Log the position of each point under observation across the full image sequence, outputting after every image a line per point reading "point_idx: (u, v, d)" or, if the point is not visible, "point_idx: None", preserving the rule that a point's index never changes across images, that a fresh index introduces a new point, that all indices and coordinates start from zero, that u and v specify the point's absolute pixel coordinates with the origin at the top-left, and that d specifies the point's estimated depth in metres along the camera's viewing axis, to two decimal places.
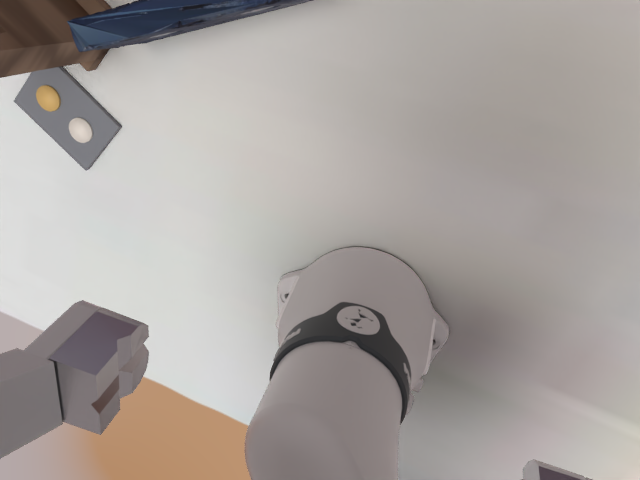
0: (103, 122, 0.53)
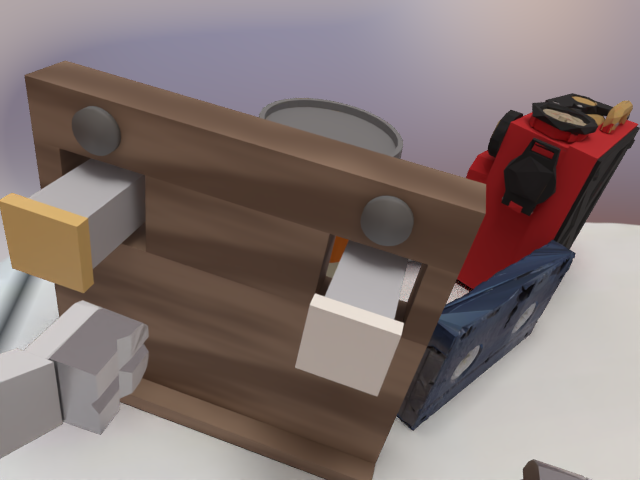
0: None
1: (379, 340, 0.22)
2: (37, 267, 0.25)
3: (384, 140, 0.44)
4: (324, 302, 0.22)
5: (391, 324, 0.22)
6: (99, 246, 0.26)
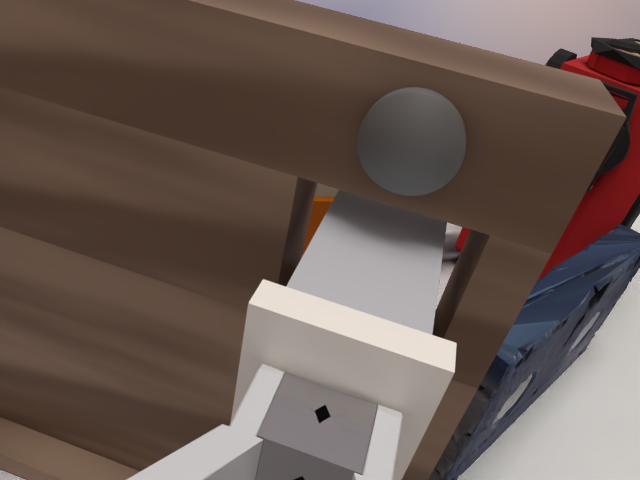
0: None
1: (403, 382, 0.10)
2: None
3: None
4: (282, 298, 0.10)
5: (429, 346, 0.10)
6: None
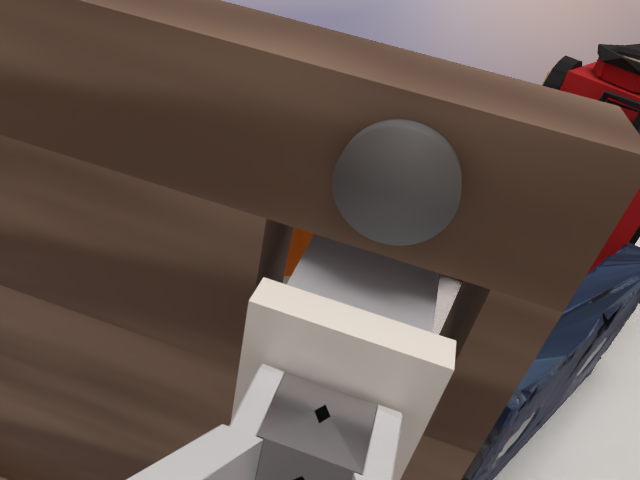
0: None
1: (403, 379, 0.10)
2: None
3: None
4: (282, 295, 0.10)
5: (429, 344, 0.10)
6: None
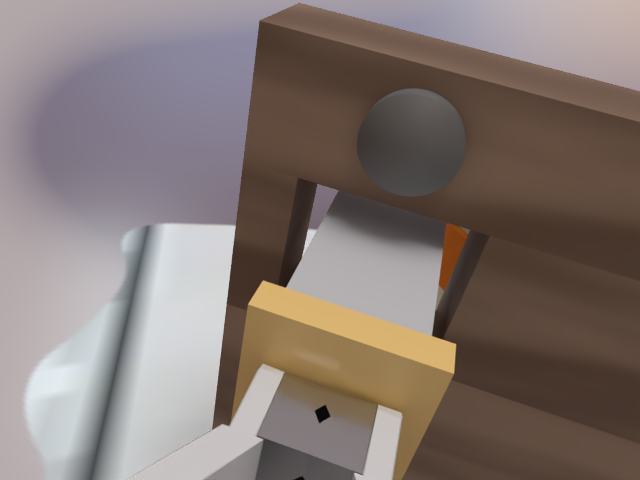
0: None
1: None
2: None
3: None
4: None
5: None
6: None
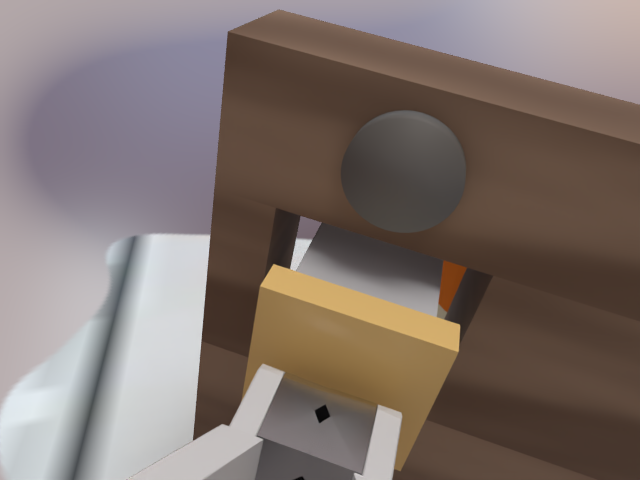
0: None
1: None
2: None
3: None
4: None
5: None
6: None
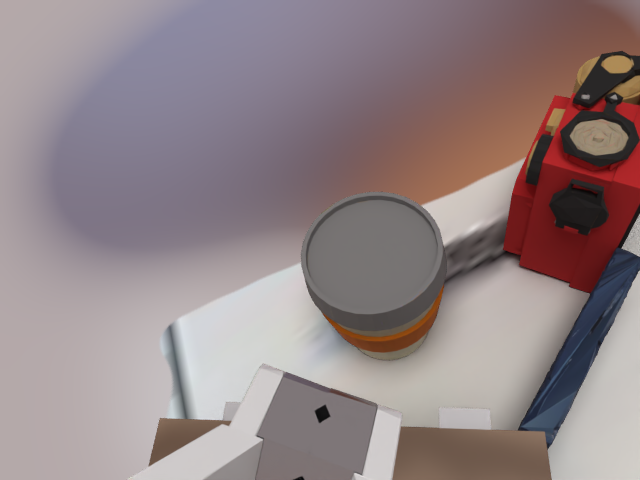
0: None
1: None
2: None
3: (422, 230, 0.44)
4: None
5: None
6: None
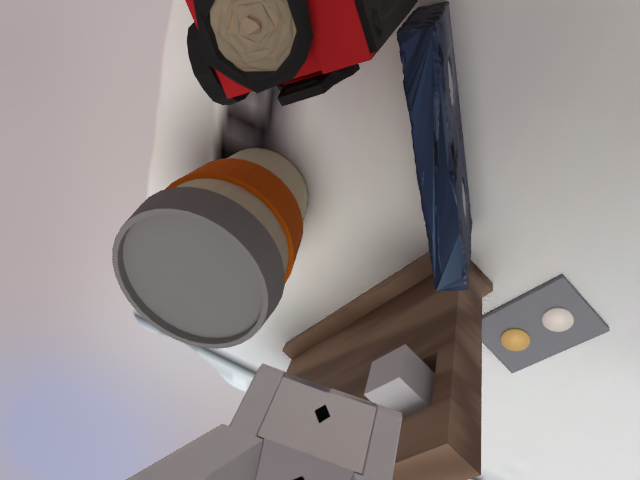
0: (553, 292, 0.46)
1: None
2: None
3: (205, 227, 0.35)
4: None
5: None
6: None
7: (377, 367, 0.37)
